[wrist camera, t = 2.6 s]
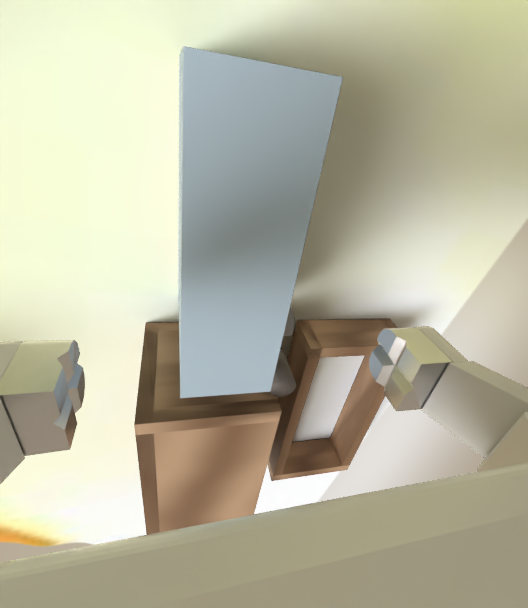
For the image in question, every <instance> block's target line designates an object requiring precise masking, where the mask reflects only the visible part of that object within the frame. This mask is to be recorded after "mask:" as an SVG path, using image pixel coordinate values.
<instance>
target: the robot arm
mask: <svg viewBox="0 0 528 608" xmlns="http://www.w3.org/2000/svg"><path fill="white" fill-rule="evenodd" d="M377 341H378V344H379V345H378V346H377V347H376V348H375V349H374V350H373V351H372V353H371V356H370V358H369V369H370V372H371V374H372V376H373V378H374V379H375V381H376V382H377V383H379V384H381V385H382V386H384V394H385V396H386V397H387V398H388V400H389V401H390V403H391V404H392V406H393V407H394V408H395V410H396V411H405V410H416V409H422V411H423V412H424V413H426V414H427V415H428V416H429V417H431V418H432V419H433V420H435V421H436V422H437V423H439V424H440V425H441V426H443V427H444V428H445V429H447V430H448V431H449V432H451V433H452V434H453V435H454V436H456V437H457V438H458V439H460V440H461V441H462V442H464V443H465V444H466V445H468V446H469V447H470V448H472V449H473V450H474V451H476V452H477V453H478V454H479V455H481V456H482V457H483V458H485V459H484V461H483V462H482V463H481V464H480V465H479V467H478V468H477V472H474V473H469V474H464V475H458V476H453V477H448V478H443V479H437V480H432V481H427V482H422V483H416V484H412V485H406V486H401V487H395V488H390V489H385V490H379V491H374V492H369V493H364V494H358V495H353V496H348V497H343V498H337V499H332V500H327V501H322V502H316V503H311V504H306V505H301V506H296V507H290V508H285V509H280V510H275V511H269V512H264V513H259V514H254V515H249V516H243V517H238V518H233V519H228V520H222V521H217V522H212V523H207V524H201V525H196V526H191V527H186V528H180V529H175V530H170V531H165V532H159V533H154V534H149V535H144V536H139V537H133V538H128V539H123V540H118V541H112V542H107V543H102V544H97V545H91V546H87V547H81V548H76V549H71V550H65V551H60V552H55V553H50V554H44V555H39V556H34V557H29V558H23V559H18V560H13V561H8V562H2V563H0V608H528V387H525V386H524V385H521V384H519V383H517V382H515V381H513V380H511V379H509V378H507V377H505V376H503V375H501V374H499V373H497V372H494V371H492V370H490V369H488V368H486V367H484V366H482V365H480V364H478V363H476V362H473V361H471V362H470V361H468V360H467V359H466V358H464V356H462V355H461V354H460V353H459V352H458V351H457V350H456V349H455V348H454V347H453V346H452V345H451V344H450V343H449V342H448V341H446V340H445V339H444V338H443V337H442V336H441V335H440V334H439V333H438V332H437V331H436V330H435V329H434V328H431V327H429V326H423V327H413V328H391V329H383V330H382V331H381V332H380V334H379V336H378V338H377ZM79 355H80V352H79V348H78V344H77V342H76V341H75V340H53V341H24V342H23V341H14V342H0V484H1V483H2V482H3V481H4V480H5V479H6V478H7V477H8V476H9V474H10V473H11V472H12V471H13V470H14V469H15V468H16V467H17V466H18V465H19V464H20V463H21V462H22V461H23V460H24V459H25V457H24V456H27V455H34V454H41V453H48V452H55V451H62V450H69V449H70V448H71V444H72V440H73V437H74V433H75V429H76V425H77V421H76V417H75V412H76V411H78V410H79V409H80V408H81V406H82V402H83V398H84V388H85V380H84V372H83V368H82V367H81V366H80V365H78V364H77V361H78V358H79Z"/></svg>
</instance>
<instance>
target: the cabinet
mask: <svg viewBox="0 0 528 608" xmlns="http://www.w3.org/2000/svg"><path fill="white" fill-rule="evenodd" d="M391 328H397V327H396V326H395V324H394V323H393V322H392V321H391V320H390V319H350V320H297V323H296V327H295V331H294V335H293V339H292V343H291V347H290V351H289V355H288V359H286V356H285V354H284V352H283V351H281V350H280V352H279V357H278V361H277V365H276V370H275V374H274V378H273V383H272V387H271V391H270V392H258V393H244V394H231V395H217V396H204V397H190V398H180V353H179V322H173V323H146V325H145V334H144V343H143V352H142V361H141V370H140V379H139V388H138V397H137V406H136V415H135V424H134V425H135V434H136V443H137V452H138V461H139V470H140V479H141V488H142V496H143V505H144V514H145V523H146V532H147V535H149V534H154V533H159V532H165V531H170V530H175V529H180V528H186V527H191V526H196V525H201V524H207V523H212V522H217V521H222V520H228V519H233V518H238V517H243V516H249V515H254V511H255V508H256V504H257V500H258V497H259V493H260V489H261V485H262V482H263V478H264V474H265V471H266V467H267V464H268V468H269V472H270V476H271V481H274V480H281V479H288V478H294V477H301V476H308V475H315V474H322V473H328V472H335V471H342V470H347V469H348V467H349V465H350V463H351V461H352V459H353V457H354V455H355V453H356V451H357V450H358V448H359V446H360V444H361V442H362V440H363V438H364V436H365V434H366V432H367V430H368V428H369V426H370V424H371V423H372V421H373V419H374V417H375V415H376V413H377V411H378V409H379V407H380V405H381V403H382V401H383V399H384V397H385V394H384V386H382V385H381V384H379V383H377V382H376V381H375V379H374V378H373V376H372V374H371V372H370V369H369V358H370V356H371V353H372V351H373V350H374V349H375V348H376V347H377V346H378V345H379V344H378V341H377V338H378V336H379V334H380V332H381V331H382V330H383V329H391ZM360 355H365V357H364V359H363V362H362V364H361V366H360V369H359V371H358V373H357V376H356V378H355V380H354V383H353V385H352V387H351V390H350V392H349V395H348V397H347V399H346V402H345V404H344V406H343V409H342V411H341V413H340V416H339V418H338V420H337V423H336V425H335V427H334V430H333V432H332V434H331V437H330V438H326V439H317V440H309V441H301V442H292V441H293V438H294V435H295V432H296V429H297V426H298V423H299V419H300V416H301V413H302V410H303V407H304V404H305V401H306V398H307V395H308V392H309V389H310V386H311V382H312V379H313V376H314V373H315V370H316V367H317V364H318V361H319V358H320V357H339V356H360ZM277 397H278V398H277Z"/></svg>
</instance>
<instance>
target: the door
mask: <svg viewBox="0 0 528 608" xmlns="http://www.w3.org/2000/svg"><path fill="white" fill-rule="evenodd" d="M342 79H343V77H340V76H334V75H329V74H324V73H319V72H314V71H309V70H304V69H298V68H293V67H288V66H283V65H278V64H273V63H267V62H262V61H257V60H252V59H247V58H242V57H236V56H231V55H226V54H221V53H216V52H211V51H206V50H200V49H195V48H190V47H185V46H184V47H183V49H182V51H181V54H180V61H179V353H180V398H190V397H204V396H217V395H231V394H244V393H258V392H270V391H271V387H272V383H273V378H274V374H275V370H276V365H277V361H278V357H279V352H280V348H281V343H282V339H283V336H291V335H292V334H293V331H294V313H293V310H292V308H291V307H290V304H291V300H292V296H293V291H294V287H295V283H296V278H297V274H298V270H299V265H300V261H301V257H302V252H303V248H304V244H305V239H306V235H307V231H308V226H309V222H310V218H311V213H312V209H313V205H314V200H315V196H316V192H317V187H318V183H319V179H320V174H321V170H322V166H323V161H324V157H325V153H326V148H327V144H328V140H329V135H330V131H331V127H332V122H333V118H334V114H335V109H336V105H337V101H338V96H339V92H340V87H341V83H342Z"/></svg>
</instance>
